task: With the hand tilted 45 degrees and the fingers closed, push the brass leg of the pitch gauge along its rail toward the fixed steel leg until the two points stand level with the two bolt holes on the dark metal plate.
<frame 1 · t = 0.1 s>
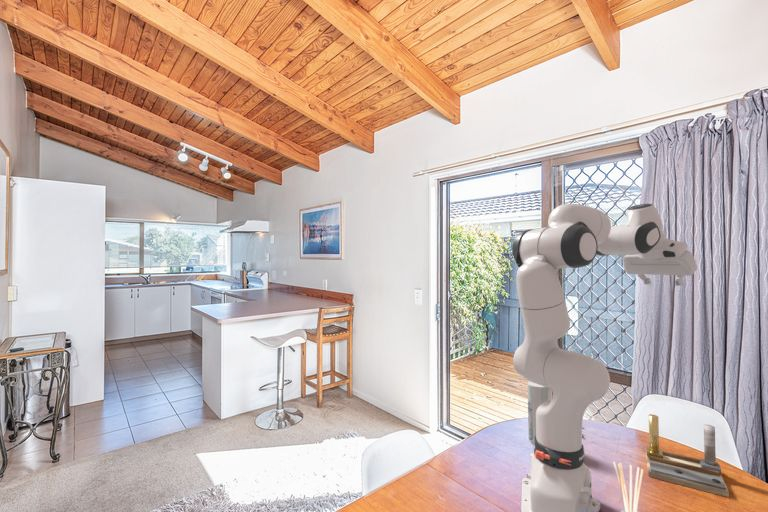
hand: (663, 284, 123), 54 cm above the table, tool tilted 30°, fingers open, 8 cm apart
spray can: (538, 442, 124), on the table
clamp: (568, 435, 129), on the table
leg b: (653, 435, 111), point 8 cm above the table, slide at 0.0 cm
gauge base: (683, 473, 105), on the table
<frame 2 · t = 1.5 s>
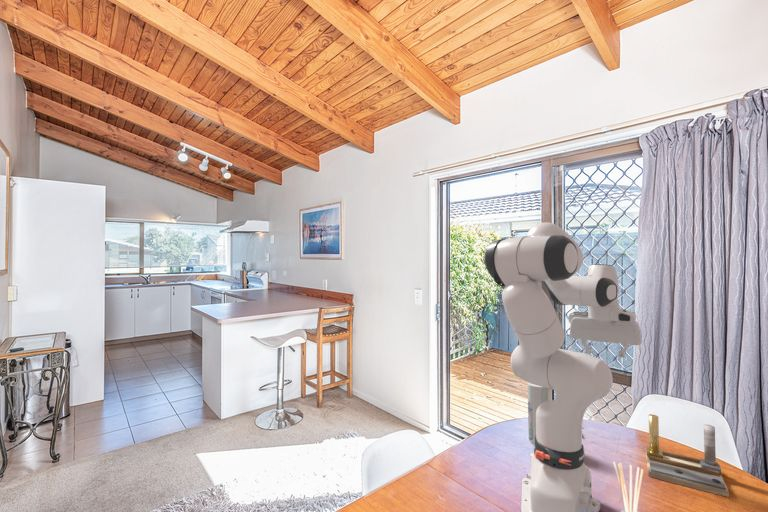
hand: (604, 355, 118), 31 cm above the table, tool pointing down, fingers open, 8 cm apart
nothing on the table moved.
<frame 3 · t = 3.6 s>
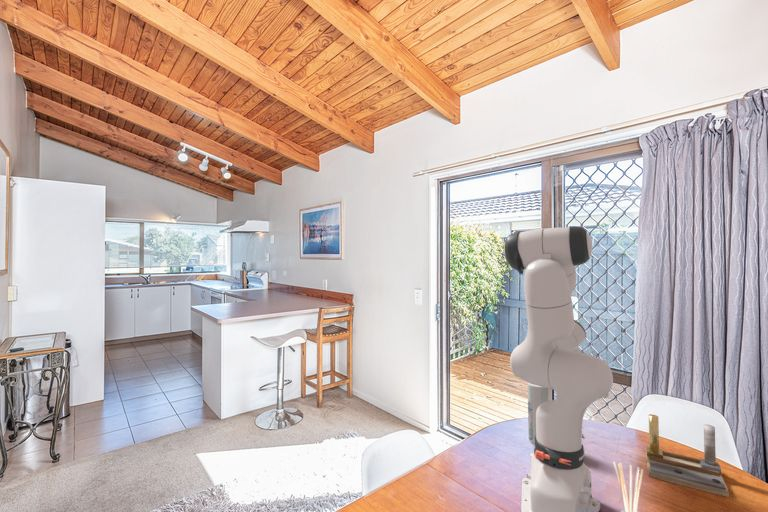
hand: (607, 396, 118), 18 cm above the table, tool tilted 45°, fingers closed
nothing on the table moved.
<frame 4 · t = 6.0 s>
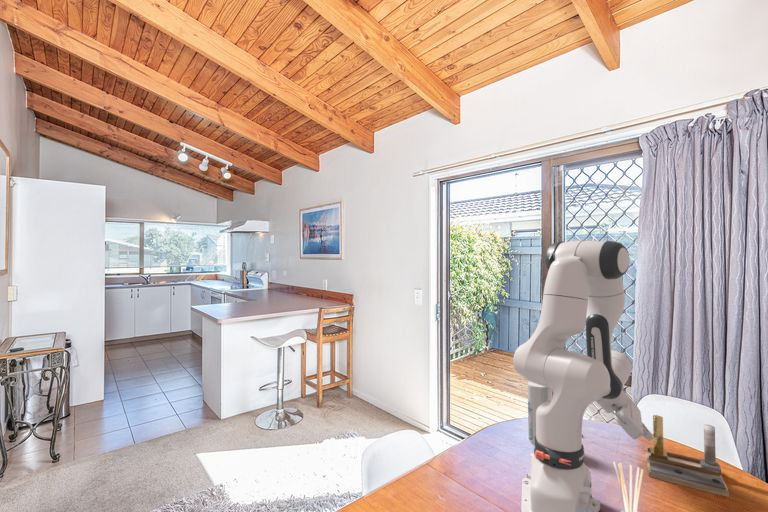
hand: (650, 438, 112), 7 cm above the table, tool tilted 45°, fingers closed, pressing on leg b
leg b: (658, 436, 111), point 8 cm above the table, slide at 1.1 cm, touching gripper
everything else where it was.
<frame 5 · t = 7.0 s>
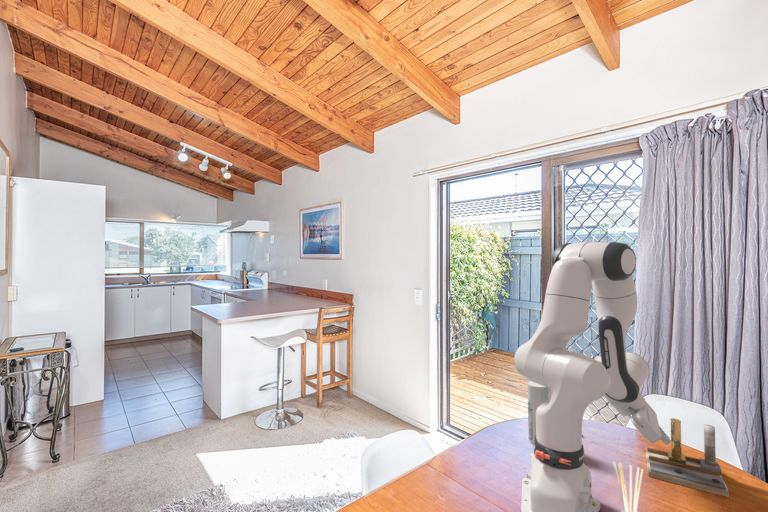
hand: (668, 441, 109), 7 cm above the table, tool tilted 45°, fingers closed, pressing on leg b
leg b: (676, 440, 108), point 8 cm above the table, slide at 5.4 cm, touching gripper
everything else where it was.
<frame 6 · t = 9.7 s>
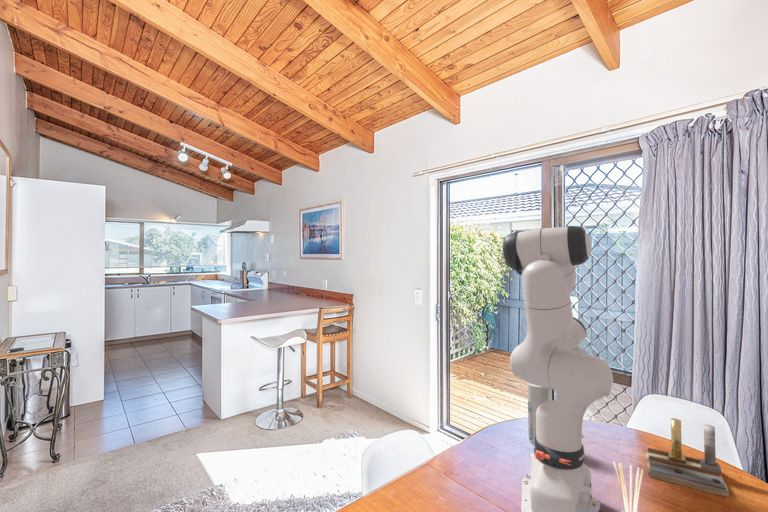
hand: (608, 394, 118), 18 cm above the table, tool tilted 45°, fingers closed
leg b: (676, 440, 108), point 8 cm above the table, slide at 5.4 cm
everything else where it was.
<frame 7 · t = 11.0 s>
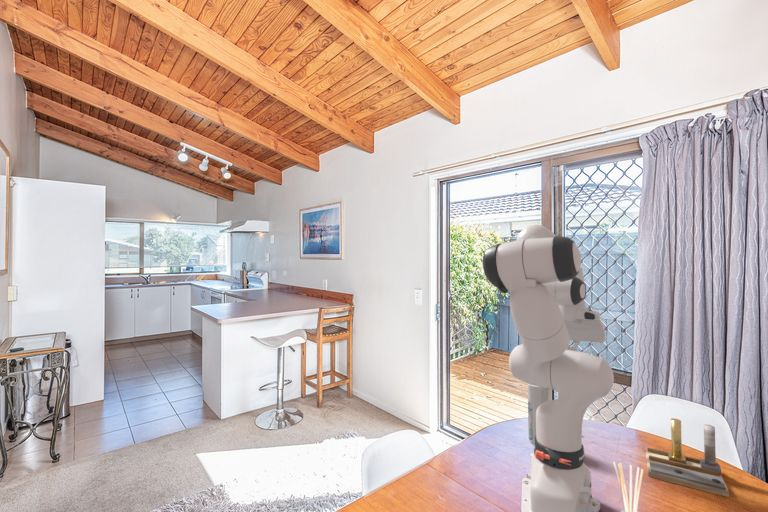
hand: (571, 352, 123), 31 cm above the table, tool pointing down, fingers closed
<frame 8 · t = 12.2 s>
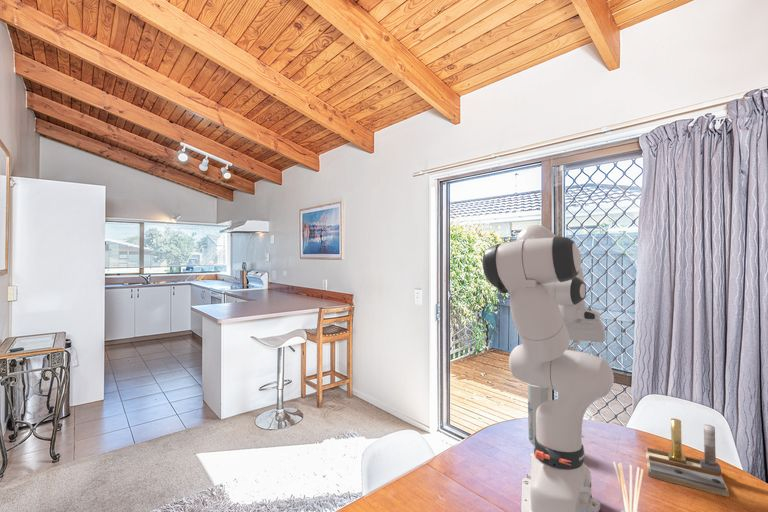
hand: (571, 352, 123), 31 cm above the table, tool pointing down, fingers closed
at the end: leg b slide at 5.4 cm; leg b 0.0 cm from the target spot, resting on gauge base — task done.
